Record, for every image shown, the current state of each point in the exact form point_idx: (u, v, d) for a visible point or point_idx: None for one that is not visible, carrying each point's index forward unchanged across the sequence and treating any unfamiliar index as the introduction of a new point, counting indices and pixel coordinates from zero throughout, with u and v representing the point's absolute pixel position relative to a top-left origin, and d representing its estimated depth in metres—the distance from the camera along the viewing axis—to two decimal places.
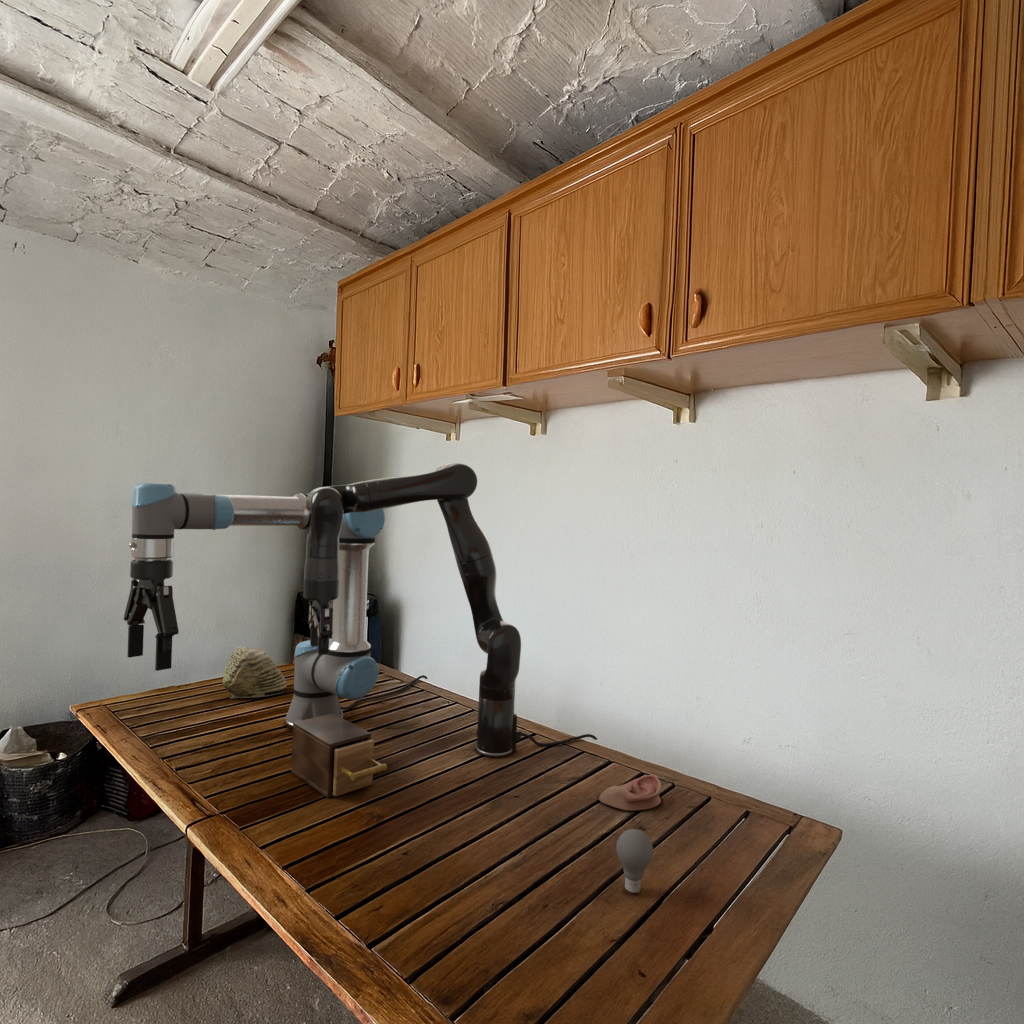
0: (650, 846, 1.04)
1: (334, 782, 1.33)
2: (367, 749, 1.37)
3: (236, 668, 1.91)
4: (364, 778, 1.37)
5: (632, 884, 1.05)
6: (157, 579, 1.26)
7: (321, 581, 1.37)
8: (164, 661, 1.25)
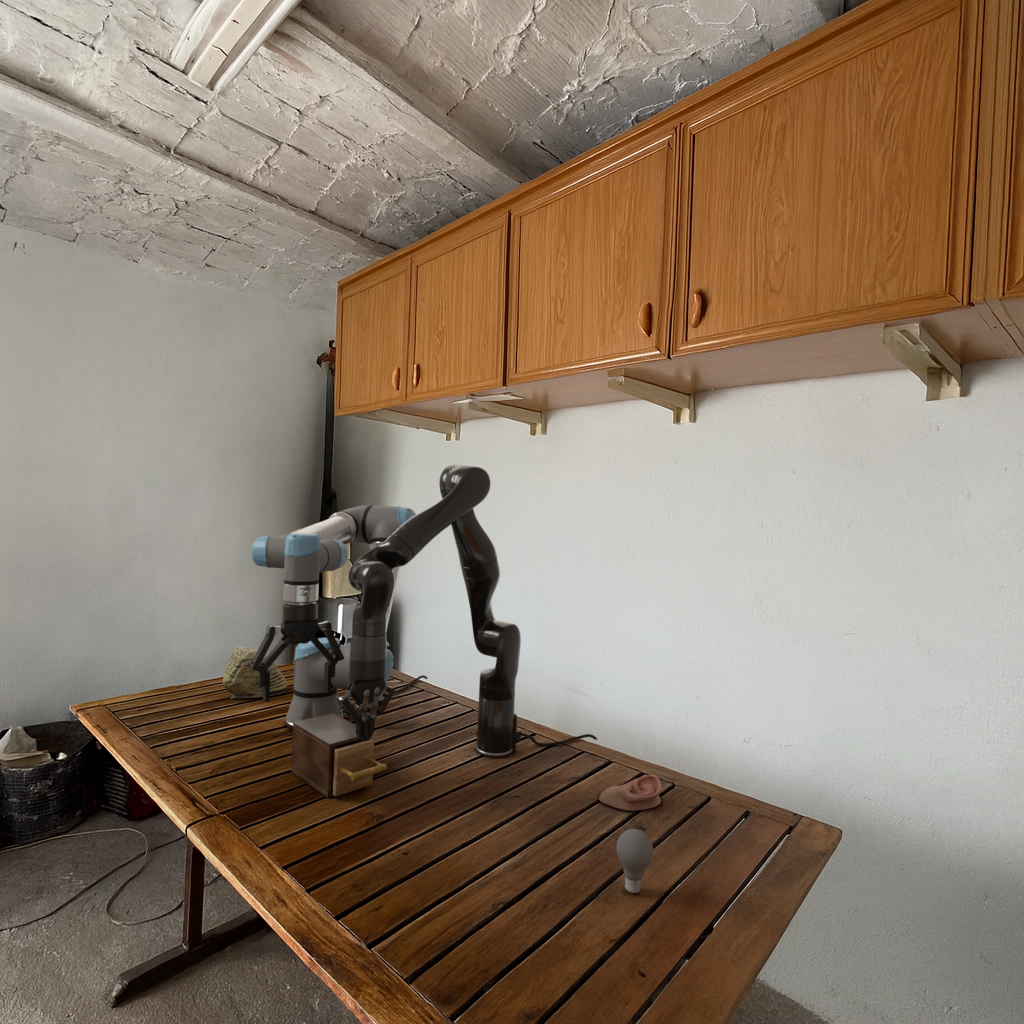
0: (650, 846, 1.04)
1: (334, 782, 1.33)
2: (367, 749, 1.37)
3: (236, 668, 1.91)
4: (364, 778, 1.37)
5: (632, 884, 1.05)
6: None
7: (350, 658, 1.31)
8: None
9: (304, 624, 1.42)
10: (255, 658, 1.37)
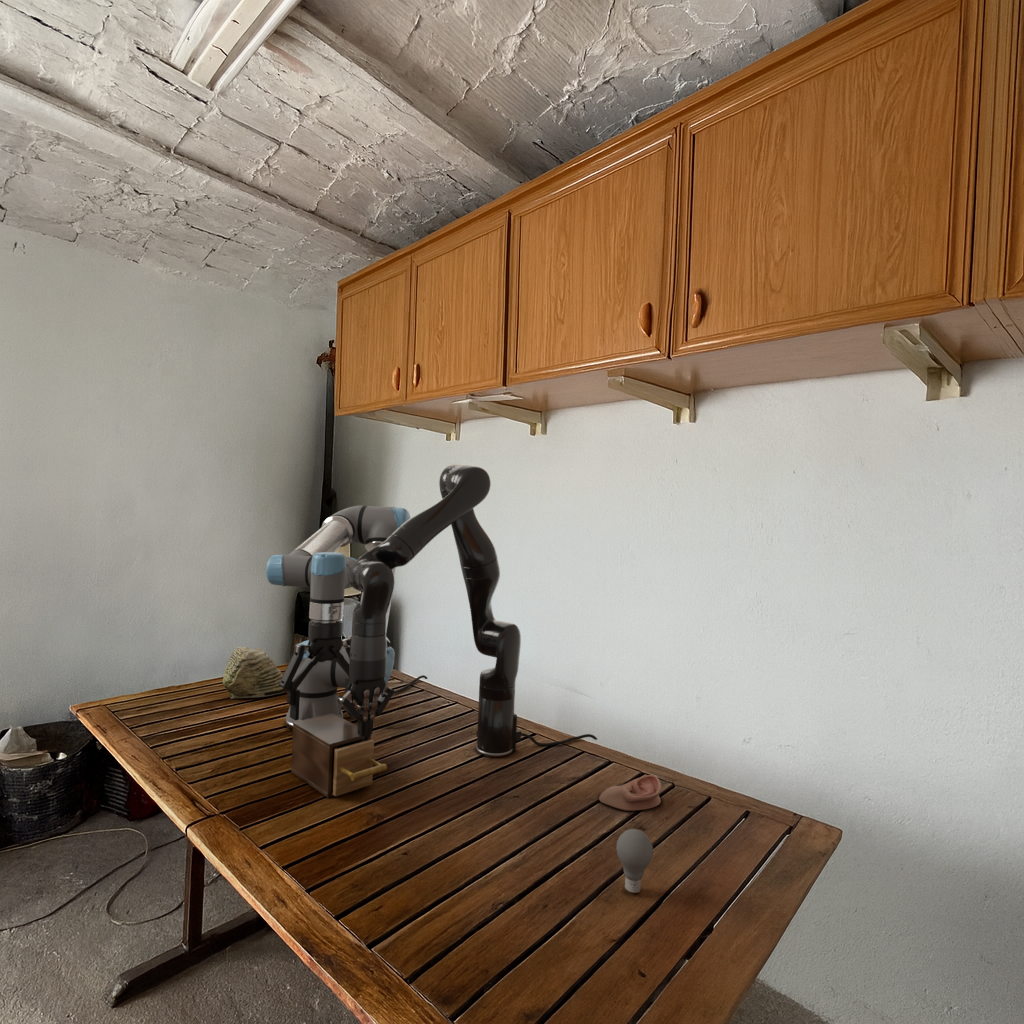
0: (650, 846, 1.04)
1: (334, 782, 1.33)
2: (367, 749, 1.37)
3: (236, 668, 1.91)
4: (364, 778, 1.37)
5: (632, 884, 1.05)
6: None
7: (350, 658, 1.31)
8: None
9: (330, 641, 1.45)
10: (285, 677, 1.38)
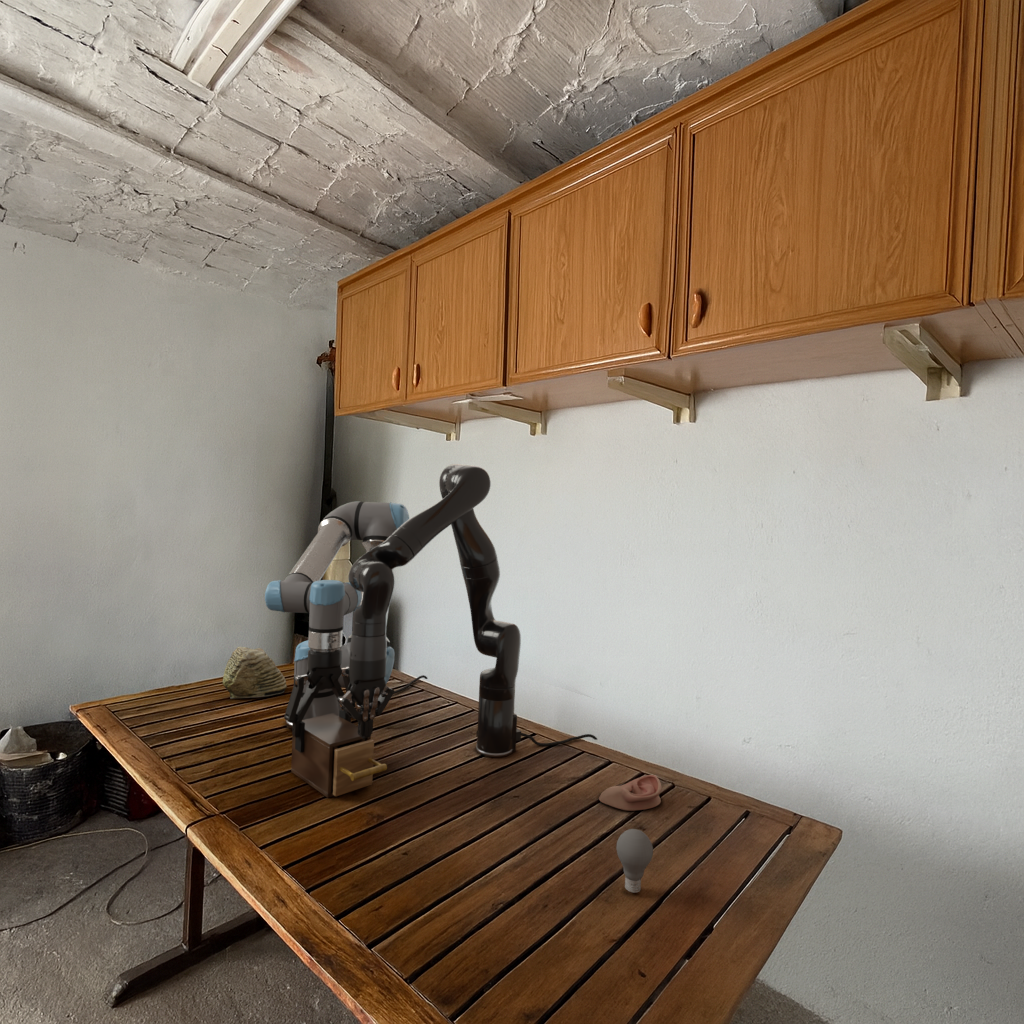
0: (650, 846, 1.04)
1: (334, 782, 1.33)
2: (367, 749, 1.37)
3: (236, 668, 1.91)
4: (364, 778, 1.37)
5: (632, 884, 1.05)
6: None
7: (350, 658, 1.31)
8: None
9: (329, 670, 1.45)
10: (289, 710, 1.39)
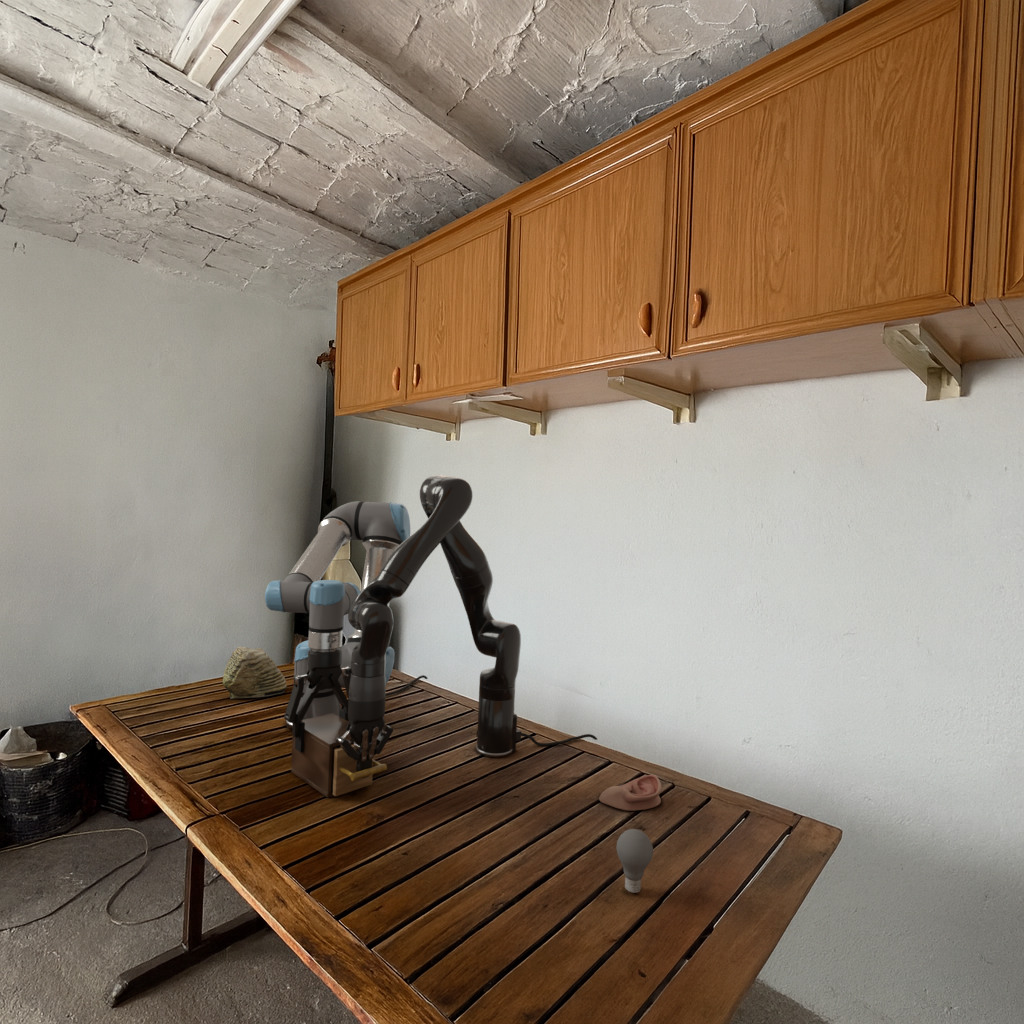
0: (650, 846, 1.04)
1: (334, 782, 1.33)
2: None
3: (236, 668, 1.91)
4: (364, 778, 1.37)
5: (632, 884, 1.05)
6: None
7: (349, 698, 1.31)
8: None
9: (329, 670, 1.45)
10: (289, 710, 1.39)
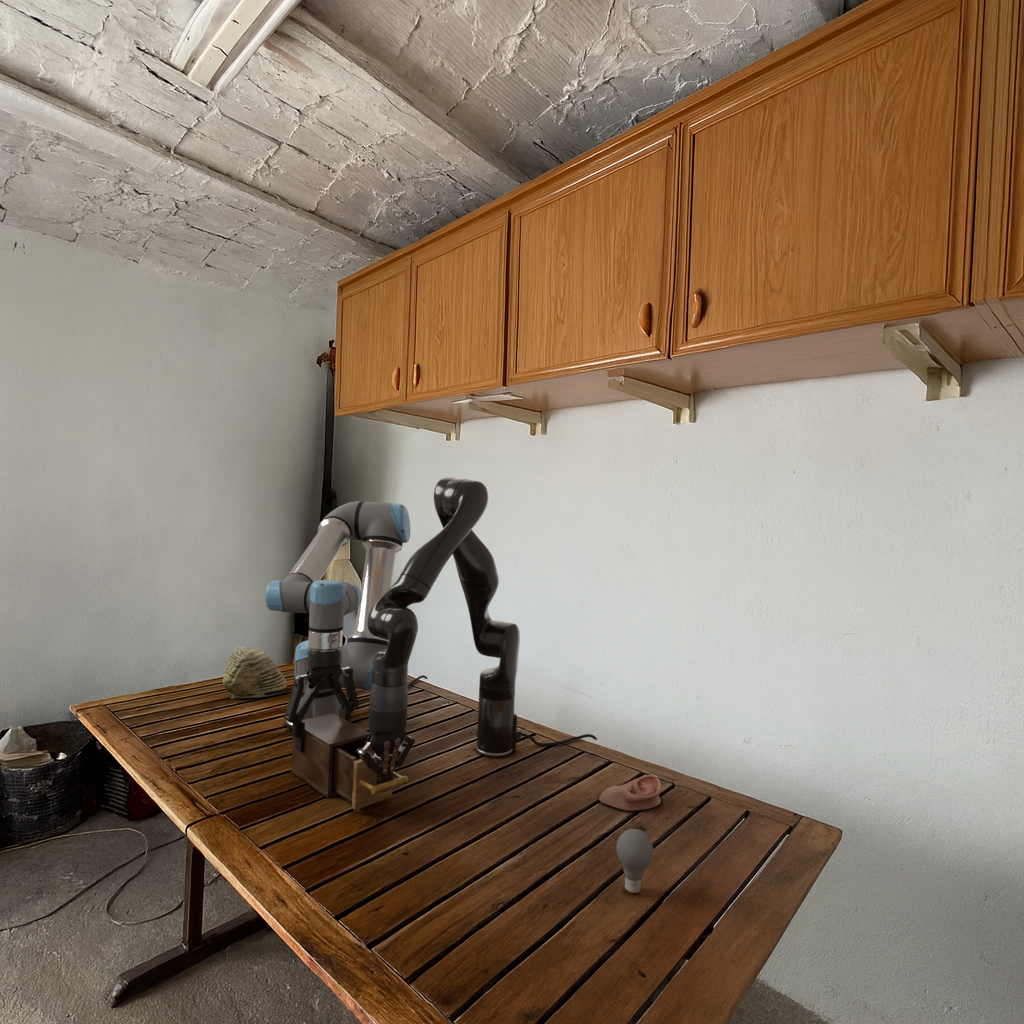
0: (650, 846, 1.04)
1: (353, 795, 1.27)
2: None
3: (236, 668, 1.91)
4: (384, 790, 1.32)
5: (632, 884, 1.05)
6: None
7: (370, 708, 1.25)
8: None
9: (329, 670, 1.45)
10: (289, 710, 1.39)
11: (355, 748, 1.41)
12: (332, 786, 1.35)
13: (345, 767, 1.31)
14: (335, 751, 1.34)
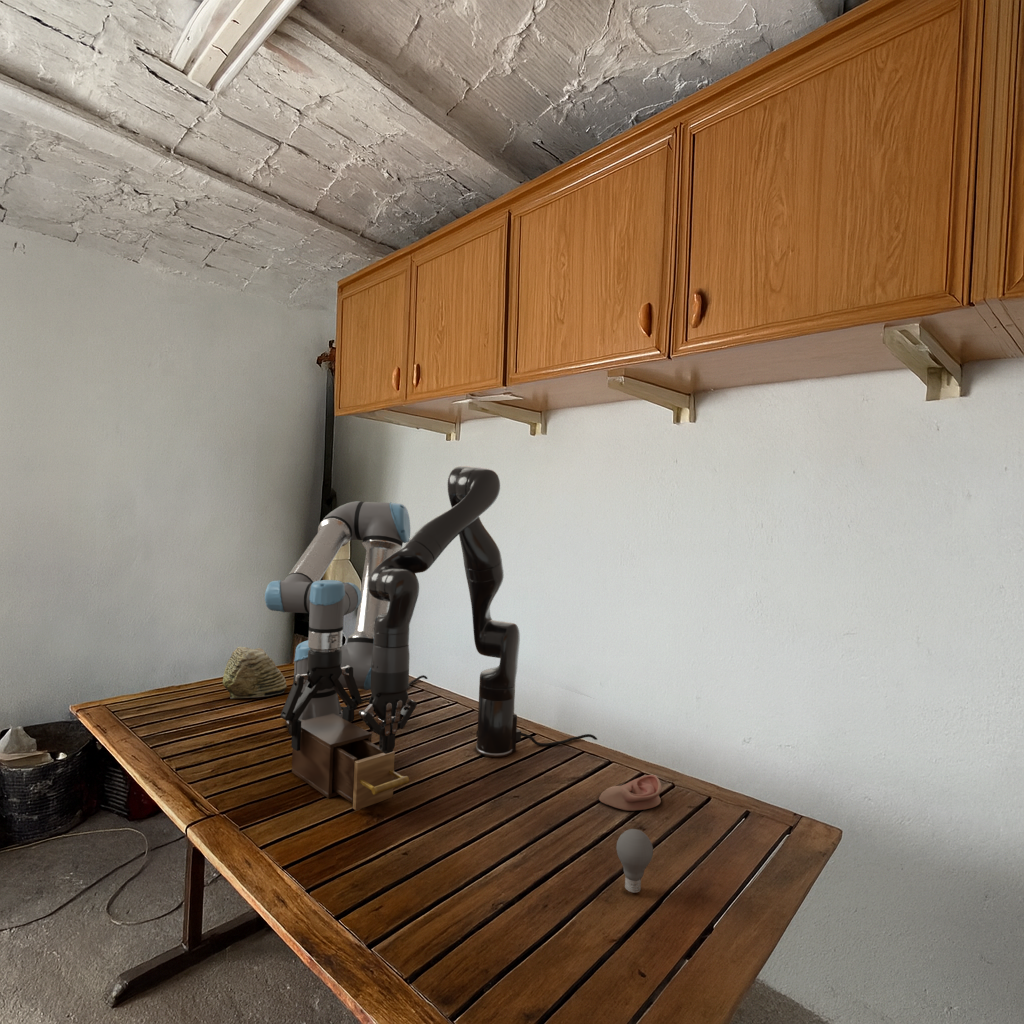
0: (650, 846, 1.04)
1: (354, 795, 1.27)
2: (388, 761, 1.32)
3: (236, 668, 1.91)
4: (385, 791, 1.32)
5: (632, 884, 1.05)
6: None
7: (372, 670, 1.25)
8: None
9: (329, 670, 1.45)
10: (286, 708, 1.39)
11: (356, 748, 1.41)
12: (333, 786, 1.34)
13: (346, 767, 1.31)
14: (336, 751, 1.34)
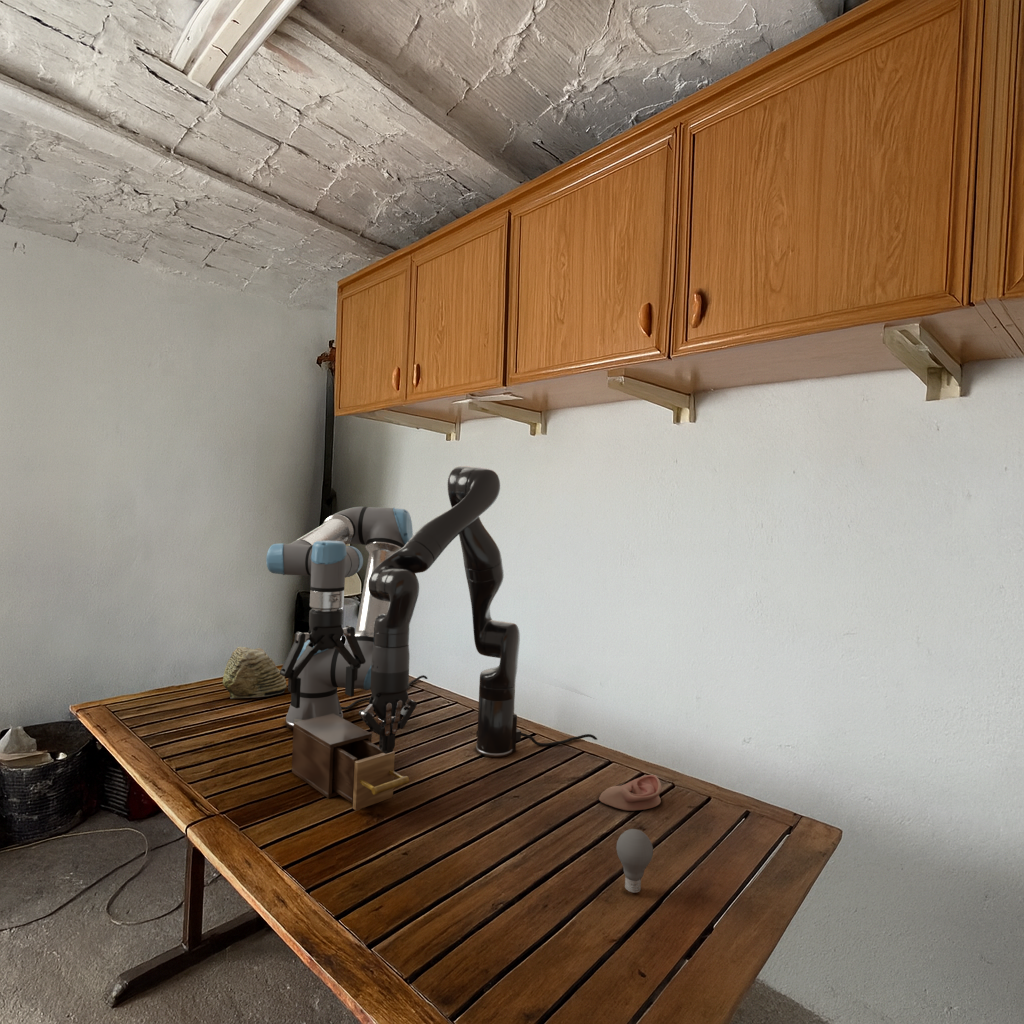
0: (650, 846, 1.04)
1: (354, 795, 1.27)
2: (388, 761, 1.32)
3: (236, 668, 1.91)
4: (385, 791, 1.32)
5: (632, 884, 1.05)
6: None
7: (372, 670, 1.25)
8: None
9: (331, 630, 1.45)
10: (286, 665, 1.38)
11: (356, 748, 1.41)
12: (333, 786, 1.34)
13: (346, 767, 1.31)
14: (336, 751, 1.34)
